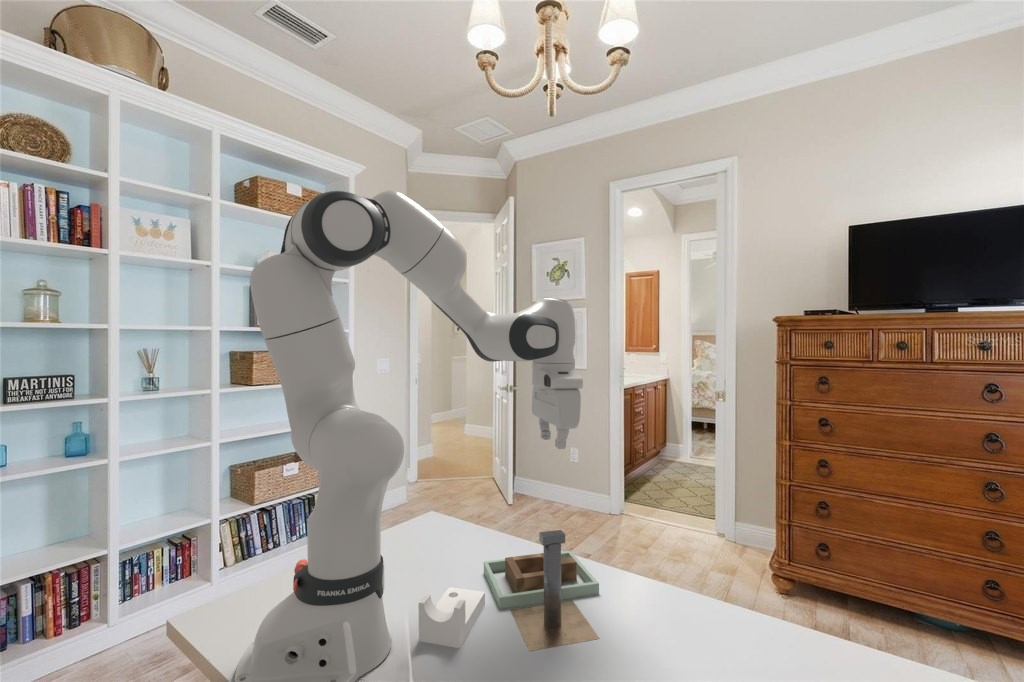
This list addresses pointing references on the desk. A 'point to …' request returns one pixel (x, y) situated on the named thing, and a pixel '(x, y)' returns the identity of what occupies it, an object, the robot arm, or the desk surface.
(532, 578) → the walnut collar
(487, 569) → the sage tray
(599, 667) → the desk surface
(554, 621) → the post stand
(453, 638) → the bracket
